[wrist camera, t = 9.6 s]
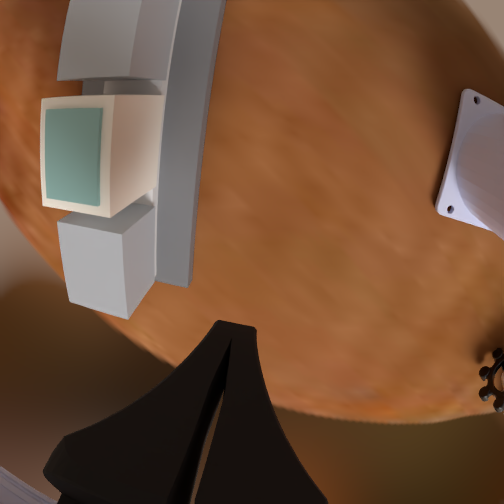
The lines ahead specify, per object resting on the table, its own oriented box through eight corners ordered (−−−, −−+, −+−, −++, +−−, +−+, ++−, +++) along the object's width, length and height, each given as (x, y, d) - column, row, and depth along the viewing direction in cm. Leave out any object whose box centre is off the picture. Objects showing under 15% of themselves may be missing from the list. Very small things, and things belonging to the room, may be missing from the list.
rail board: (232, -31, 12) (207, -77, 7) (192, 280, 21) (162, 335, 16) (110, -21, 12) (56, -46, 7) (92, 257, 21) (47, 299, 16)
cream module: (164, 95, 14) (112, 95, 10) (156, 186, 17) (107, 219, 12) (100, 94, 14) (38, 98, 10) (96, 178, 17) (40, 207, 12)
